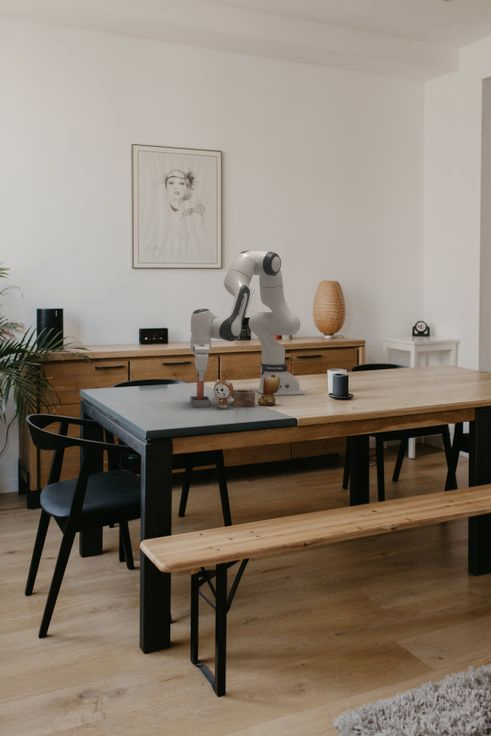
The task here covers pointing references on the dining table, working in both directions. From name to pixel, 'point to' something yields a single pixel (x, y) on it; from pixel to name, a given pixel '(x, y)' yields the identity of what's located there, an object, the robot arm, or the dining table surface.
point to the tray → (199, 402)
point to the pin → (200, 388)
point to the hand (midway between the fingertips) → (200, 379)
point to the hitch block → (243, 398)
